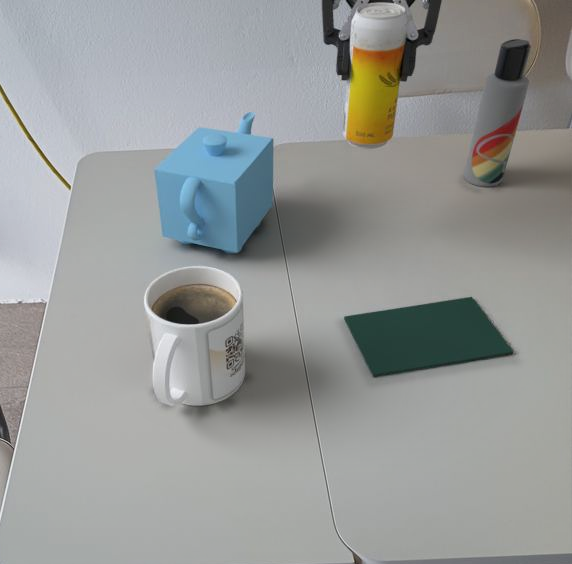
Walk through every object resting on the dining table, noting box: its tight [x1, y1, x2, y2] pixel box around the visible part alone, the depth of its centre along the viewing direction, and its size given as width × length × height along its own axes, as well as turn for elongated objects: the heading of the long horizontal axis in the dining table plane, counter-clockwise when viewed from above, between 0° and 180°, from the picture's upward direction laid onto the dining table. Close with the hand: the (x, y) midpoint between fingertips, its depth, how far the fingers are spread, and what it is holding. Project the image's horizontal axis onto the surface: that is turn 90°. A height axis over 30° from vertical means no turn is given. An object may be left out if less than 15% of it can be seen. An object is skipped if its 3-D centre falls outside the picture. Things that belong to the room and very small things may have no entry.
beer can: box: [342, 3, 408, 150], centre depth 76 cm, size 6×6×15 cm
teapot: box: [153, 111, 275, 255], centre depth 88 cm, size 22×11×14 cm, turn 156°
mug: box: [143, 265, 246, 407], centre depth 67 cm, size 10×12×11 cm
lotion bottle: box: [463, 38, 532, 188], centre depth 93 cm, size 6×6×20 cm
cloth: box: [343, 296, 514, 378], centre depth 74 cm, size 16×10×1 cm, turn 100°
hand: (374, 77), depth 74 cm, fingers closed on beer can, 6 cm apart
